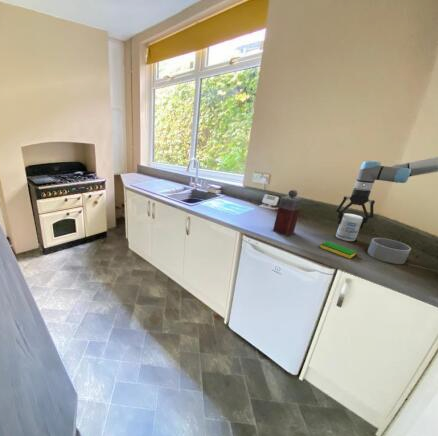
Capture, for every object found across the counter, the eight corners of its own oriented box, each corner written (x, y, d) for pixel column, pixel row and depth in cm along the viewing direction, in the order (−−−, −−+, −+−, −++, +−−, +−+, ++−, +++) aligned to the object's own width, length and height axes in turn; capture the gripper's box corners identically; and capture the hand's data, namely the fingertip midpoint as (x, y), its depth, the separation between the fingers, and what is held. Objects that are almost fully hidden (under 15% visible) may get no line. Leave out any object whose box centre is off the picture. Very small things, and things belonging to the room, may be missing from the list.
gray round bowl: (402, 255, 125) (408, 243, 122) (407, 267, 114) (413, 253, 111) (366, 247, 133) (371, 235, 131) (367, 257, 123) (372, 244, 120)
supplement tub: (343, 242, 139) (351, 218, 134) (331, 235, 148) (338, 213, 143) (359, 241, 140) (368, 218, 134) (346, 235, 148) (353, 213, 143)
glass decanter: (295, 232, 152) (307, 190, 141) (286, 236, 146) (297, 192, 135) (281, 227, 158) (291, 187, 148) (272, 231, 153) (282, 189, 142)
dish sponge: (325, 244, 135) (327, 240, 135) (355, 255, 125) (356, 251, 124) (319, 247, 132) (321, 243, 131) (349, 258, 121) (351, 254, 120)
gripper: (337, 187, 137) (326, 222, 145) (390, 193, 124) (374, 232, 132) (338, 185, 142) (327, 219, 150) (388, 191, 129) (374, 228, 137)
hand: (349, 225), depth 141 cm, fingers closed on supplement tub, 9 cm apart
